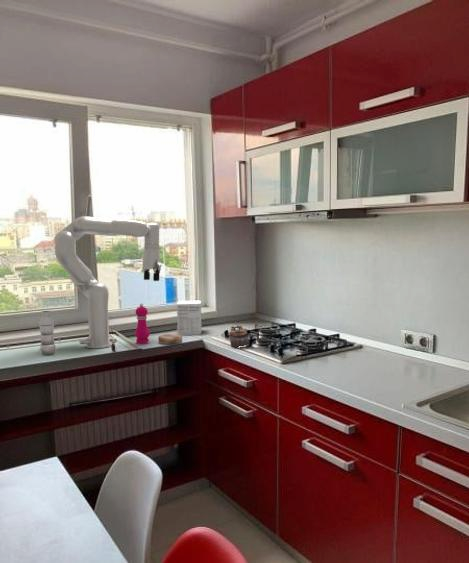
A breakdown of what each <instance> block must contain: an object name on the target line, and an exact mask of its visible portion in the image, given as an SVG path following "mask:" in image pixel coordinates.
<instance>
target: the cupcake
mask: <svg viewBox="0 0 469 563" xmlns="http://www.w3.org/2000/svg"><path fill="white" fill-rule="evenodd" d="M228 334H229V335H228V338H229V342H230V347H231V348H233V349H234V348H235V349H238V348H237V347H239V346H244V345H247V343H248V344H249V338H250V336H249V335H248V331H247V330H246V329H245V328H244V327H243V326H242V325H238V324H237V325H236V326H231V327H230V331H229V332H228ZM247 346H248V345H247Z"/></svg>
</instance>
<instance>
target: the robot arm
mask: <svg viewBox="0 0 469 563" xmlns="http://www.w3.org/2000/svg"><path fill="white" fill-rule="evenodd" d="M85 235H93V236H106V237H107V236H108V237H115V236H126V237H127V236H130V237H135V238H141V237H142V238H143V237H144V241H143V242H144V243H143V244H144V246H143V249H144V250H143V255H142V264H141V265H142V270H143V280H144V281H148V280H149V281H150V280H151V278H150V277H151V275H150V274H151V273H150V270H152V271H153V276H152V280H153V282H158V281H160V274H161V270H162V264H161V263H160V261H161V260H160V259H161V258H160V225H159V223H157V222H148V223H146V222H144V221H139V220H130V219H128V220H127V219H118V218H107V217H99V216H98V217H97V216H95V217H94V216H87V215H84V216H79V217H76V218H75V219H74V220H73V221H71V222H70V223H69V224H68V225H67V226H65V227H64V228H62V229H61V230H60V231H59V232H57V233H56V234H55V236H54V238H53V240H54V244H55V246H54V254H55V257H56V260H57V262H58V263H59V265H61V267H62V268H63V269H64V270H65V272H66V273H67V274H68V277H69V279H70V281H71V282H72V283H73V285H74V286H75V287H76V288H77V289H78V290H79V291H80V292H81V293H82V294H83V295H84V296H85V297H86V298H87V318H88V320H87V321H88V336H87V337H86V339H81V340H80V339H79V342H78V343H79V345H85V347H86V348H88V349H106V348H110V347H112V346H113V345H114V344H113V342H112V341H110V327H109V326H110V322H109V298H110V297H109V296H110V294H109V288H107V286H106V285H105V284H104V283H103V282H100V281H99V280H97V279H96V278H95V276H93V272H92V271H91V269H90V268H89V267H88V266H87V265H86V264H85V263H84V262H83V261H82V260H81V259H80V257H79V256H78V255H77V253H76V251H75V244H76V242H78V241H79V240H80V239H81V238H83V237H84V236H85ZM112 344H113V345H112ZM111 345H112V346H111Z"/></svg>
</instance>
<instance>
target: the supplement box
mask: <svg viewBox="0 0 469 563" xmlns="http://www.w3.org/2000/svg"><path fill="white" fill-rule="evenodd" d="M176 316H177V322H176V323H177V334H179V335H182V336H199V335H202V301H201V300H178V302H177V303H176Z"/></svg>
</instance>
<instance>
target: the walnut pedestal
mask: <svg viewBox="0 0 469 563" xmlns="http://www.w3.org/2000/svg"><path fill="white" fill-rule="evenodd" d="M157 342H158V344H160V345H166V346H167V345H169V346H170V345H178V344H181V343H183V335H179V334H178V333H166V334H161V335H159V336H158V337H157Z"/></svg>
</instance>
